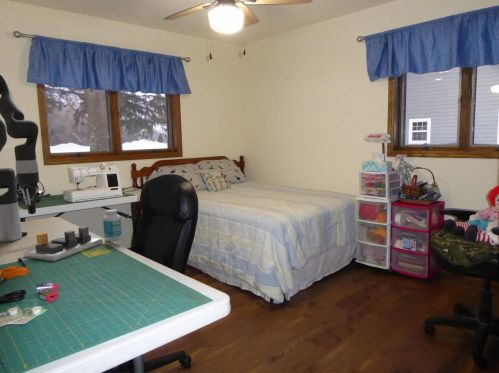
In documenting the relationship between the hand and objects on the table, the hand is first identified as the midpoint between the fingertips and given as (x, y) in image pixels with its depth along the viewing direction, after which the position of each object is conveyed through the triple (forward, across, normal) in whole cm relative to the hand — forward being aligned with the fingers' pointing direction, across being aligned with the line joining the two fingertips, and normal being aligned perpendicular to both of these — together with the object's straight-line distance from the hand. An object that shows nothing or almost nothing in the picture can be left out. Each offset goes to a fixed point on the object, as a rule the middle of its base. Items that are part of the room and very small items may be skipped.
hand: (32, 213), depth 144 cm
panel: (+16, +9, +6) cm, 19 cm away
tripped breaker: (+12, +6, -1) cm, 13 cm away
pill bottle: (+16, +19, +24) cm, 34 cm away
